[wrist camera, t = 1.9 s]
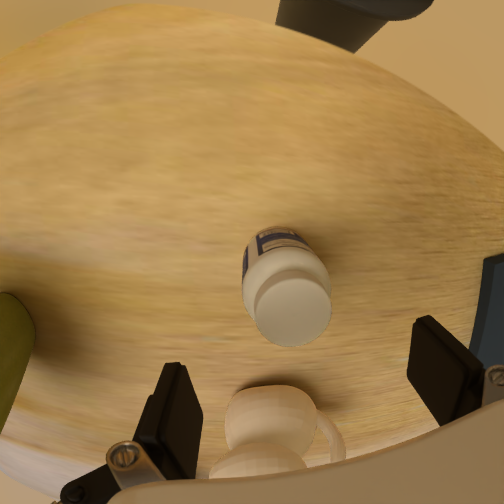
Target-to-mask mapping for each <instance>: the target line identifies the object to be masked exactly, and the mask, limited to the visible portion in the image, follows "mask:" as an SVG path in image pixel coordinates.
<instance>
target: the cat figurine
mask: <svg viewBox="0 0 504 504" xmlns="http://www.w3.org/2000/svg"><path fill="white" fill-rule="evenodd" d="M316 425H317V426H318V427H319V428H320V429H321V430H322V432H323V433H324V434H325V436H326V438H327V439H328V442H329V445H330V452H331V463H334V462H338V461H342V460H345V458H346V447H345V443H344V440H343V438H342V435H341V433H340V432H339V430H338V428H337V427H336V425H335V424H334V423H333V422H332V420H331V419H330V418H329V417H328V416H326V415H325V414H324V413H323V412H321V411H319V410H317V409H316V407H315V405H314V403H313V401H312V400H311V398H310V397H309V395H307V394H306V393H305V392H304V391H302V390H300V389H298V388H296V387H293V386H288V385H271V386H261V387H254V388H248V389H244V390H241V391H239V392H238V393H236V394H235V395H234V397H233V398H232V400H231V401H230V403H229V405H228V408H227V412H226V417H225V436H226V441H227V444H228V446H229V448H230V450H231V451H229V452H228V453H227V454H225V455H224V456H223V457H222V458H220V459H219V460H218V461H217V462H216V463H215V464H214V466H213V467H212V469H211V470H210V474H209V479H215V478H232V477H245V476H256V475H265V474H273V473H281V472H287V471H294V470H299V469H305V468H307V466H306V464H305V462H304V461H303V460H302V457H303V456H304V454H305V453H306V452H307V450H308V448H309V447H310V445H311V443H312V442H313V439H314V435H315V430H316Z"/></svg>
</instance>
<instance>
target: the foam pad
mask: <svg viewBox="0 0 504 504" xmlns="http://www.w3.org/2000/svg"><path fill="white" fill-rule="evenodd" d="M469 351H470V352H471V353H472V354H473V355H474V356H476V357H477V358H478V359H479V360H480V361H481V362H482V363H483V364H484V367H483V368H484V369H485V370H487V369H488V368H489V367H491V366H494V365H504V253H503V254H500V255H497V256H493V257H490V258H486V259H484V263H483V273H482V281H481V289H480V296H479V302H478V308H477V314H476V319H475V324H474V329H473V333H472V338H471V342H470V346H469Z"/></svg>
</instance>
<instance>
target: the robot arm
mask: <svg viewBox="0 0 504 504" xmlns="http://www.w3.org/2000/svg"><path fill="white" fill-rule="evenodd" d="M483 367H484V364H483V363H482V362H481V361H480V360H479V359H478V358H477V357H476V356H474V355H473V354H472V353H471V352H470V351H469V350H468V349H467V348H466V347H465V346H464V345H463V344H462V343H461V342H460V341H458V340H457V339H456V338H455V337H454V336H453V335H452V334H451V333H450V332H449V331H447V330H446V329H445V328H444V327H443V326H442V325H441V324H440V323H438V322H437V321H436V320H435V319H434V318H433V317H432V316H430V315H426V316H423V317H420V318H417V319H416V322H415V323H413V327H412V337H411V345H410V353H409V360H408V367H407V378H408V380H409V381H410V383H411V384H412V386H413V387H414V389H415V390H416V391H417V393H418V394H419V396H420V397H421V399H422V400H423V402H424V403H425V405H426V406H427V408H428V409H429V410H430V412H431V413H432V415H433V416H434V418H435V419H436V421H437V422H438V424H439V426H440V427H439V428H437V429H434V430H432V431H430V432H427V433H425V434H422V435H420V436H417V437H415V438H412V439H410V440H407V441H404V442H402V443H399V444H396V445H393V446H390V447H387V448H384V449H381V450H378V451H375V452H371V453H368V454H365V455H361V456H357V457H354V458H350V459H346V460H342V461H338V462H334V463H330V464H325V465H320V466H315V467H310V468H305V469H299V470H294V471H287V472H281V473H273V474H265V475H256V476H245V477H232V478H215V479H195V475H196V467H197V460H198V453H199V445H200V438H201V431H202V424H203V412H202V409H201V407H200V404H199V401H198V399H197V396H196V393H195V391H194V388H193V385H192V383H191V380H190V377H189V374H188V371H187V368H186V366H185V365H181V364H180V362H173V363H165V365H164V367H163V370H162V372H161V375H160V378H159V380H158V383H157V386H156V388H155V391H154V394H153V395H150V396H149V397H148V399H147V402H146V404H145V407H144V410H143V412H142V415H141V418H140V421H139V423H138V426H137V429H136V431H135V434H134V437H133V440H132V441H122V442H119V443H116V444H115V445H113V446H112V447H111V448H110V449H109V450H108V452H107V454H106V462H107V464H105V465H103V466H101V467H99V468H97V469H95V470H94V471H92V472H90V473H88V474H85V475H83V476H81V477H79V478H77V479H75V480H73V481H71V482H69V483H67V484H66V485H65V486H64V487H63V488H62V490H61V493H60V499H61V500H60V501H59V502H58V503H57V502H56V501H54V502H52V504H504V365H494V366H491V367H489V368H488V369H487V370H485V369H484V368H483Z"/></svg>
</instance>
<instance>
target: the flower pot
mask: <svg viewBox="0 0 504 504" xmlns="http://www.w3.org/2000/svg"><path fill="white" fill-rule="evenodd" d="M35 338H36V334H35V328H34V325H33V322H32V320H31V318H30V316H29V314H28V312H27V311H26V309H25V308H24V306H23V305H22V304H21V303H20V302H19V301H18V300H17V299H16V298H15V297H13V296H12V295H10V294H7V293H0V434H1V432H2V429H3V427H4V425H5V422H6V420H7V418H8V415H9V413H10V410H11V408H12V405H13V403H14V400H15V397H16V395H17V392H18V390H19V387H20V384H21V382H22V379H23V376H24V373H25V371H26V368H27V365H28V362H29V359H30V355H31V352H32V349H33V346H34V343H35Z"/></svg>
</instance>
